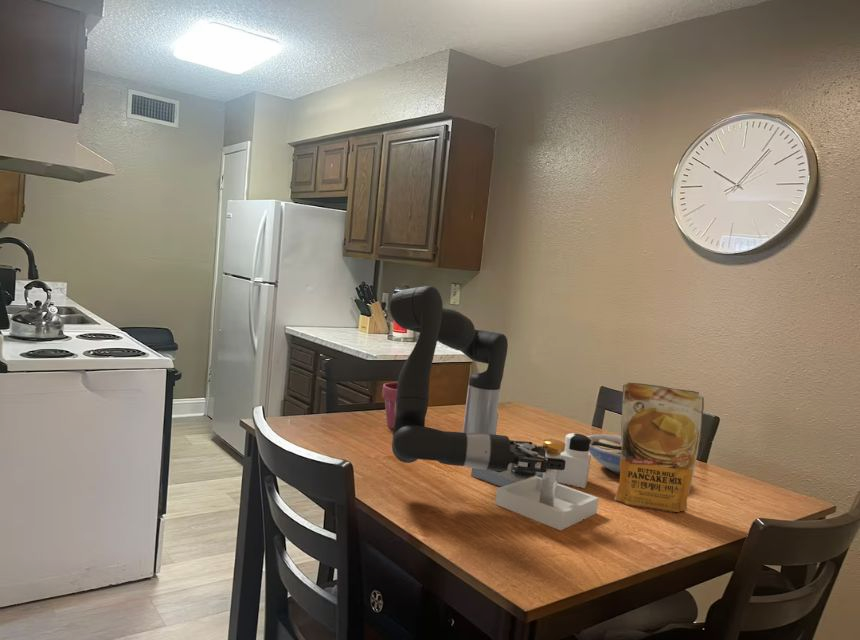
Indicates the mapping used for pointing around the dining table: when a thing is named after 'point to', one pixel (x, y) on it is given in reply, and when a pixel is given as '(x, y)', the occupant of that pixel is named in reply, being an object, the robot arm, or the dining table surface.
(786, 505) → the dining table surface
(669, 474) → the pancake mix bag
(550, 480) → the pin
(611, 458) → the ramen bowl
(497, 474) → the grey flat square block
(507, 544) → the dining table surface
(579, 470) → the medicine bottle
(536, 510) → the tray
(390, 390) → the plant pot
